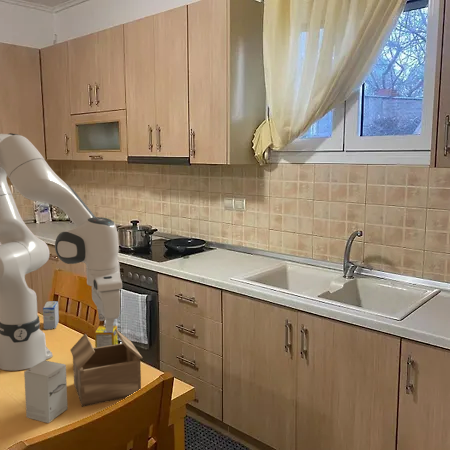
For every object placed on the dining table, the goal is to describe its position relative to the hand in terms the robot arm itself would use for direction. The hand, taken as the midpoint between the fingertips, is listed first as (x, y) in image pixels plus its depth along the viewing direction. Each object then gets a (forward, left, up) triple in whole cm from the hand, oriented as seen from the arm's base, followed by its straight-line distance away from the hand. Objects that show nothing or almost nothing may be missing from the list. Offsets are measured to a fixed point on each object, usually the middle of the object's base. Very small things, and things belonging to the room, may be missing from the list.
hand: (105, 325), depth 134 cm
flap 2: (0, +6, -7) cm, 9 cm away
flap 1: (0, -6, -7) cm, 9 cm away
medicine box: (-59, -9, -19) cm, 63 cm away
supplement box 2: (-19, +4, -19) cm, 27 cm away
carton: (0, 0, -19) cm, 19 cm away
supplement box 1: (+6, -17, -19) cm, 26 cm away
